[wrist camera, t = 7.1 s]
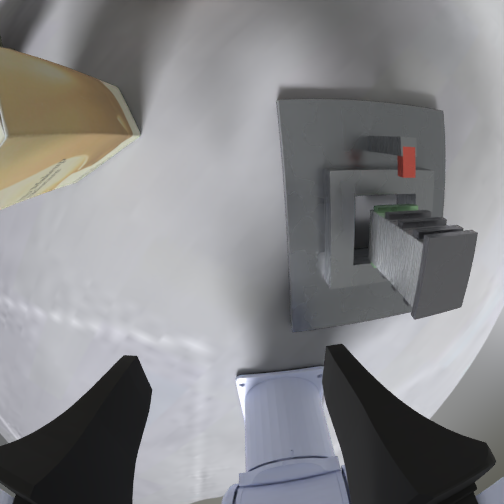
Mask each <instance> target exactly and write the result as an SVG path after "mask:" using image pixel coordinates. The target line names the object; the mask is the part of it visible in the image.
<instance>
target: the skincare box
mask: <svg viewBox="0 0 504 504" xmlns="http://www.w3.org/2000/svg"><path fill="white" fill-rule="evenodd" d="M140 136H141V134H140V132H139V130H138V127H137V125H136V123H135V121H134V119H133V117H132V114H131V112H130V110H129V108H128V106H127V104H126V102H125V100H124V98H123V96H122V94H121V92H120V90H119V88H118V87H116V86H113V85H111V84H109V83H106V82H104V81H101V80H99V79H97V78H94V77H91V76H89V75H86V74H83V73H81V72H78V71H76V70H73V69H70V68H68V67H65V66H62V65H59V64H56V63H53V62H50V61H47V60H44V59H41V58H38V57H35V56H31V55H28V54H25V53H21V52H18V51H15V50H11V49H7V48H3V47H0V210H2V209H4V208H6V207H9V206H11V205H14V204H16V203H19V202H21V201H24V200H27V199H29V198H32V197H35V196H38V195H40V194H43V193H46V192H49V191H52V190H55V189H58V188H61V187H64V186H67V185H70V184H73V183H77V182H78V181H80V180H81V179H82V178H84V177H85V176H87V175H88V174H89V173H91V172H92V171H93V170H95V169H96V168H98V167H99V166H100V165H102V164H103V163H104V162H106V161H107V160H109V159H110V158H111V157H113V156H114V155H115V154H117V153H118V152H119V151H121V150H122V149H123V148H125V147H126V146H128V145H129V144H130V143H132V142H133V141H135V140H136V139H137V138H139V137H140Z"/></svg>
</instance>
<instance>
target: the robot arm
mask: <svg viewBox="0 0 504 504" xmlns="http://www.w3.org/2000/svg"><path fill="white" fill-rule="evenodd" d="M319 374H320V375H319ZM241 383H244V384H241ZM236 385H237V390H238V394H239V399H240V403H241V408H242V412H243V417H244V421H245V454H246V472H245V473H240V474H239V484H234V485H232V486H230V488H229V489H228V491H227V492H226V493H225V495H224V497H223V500H222V504H504V477H502V478H501V479H499V480H498V481H497V482H495V483H494V484H493V485H492V486H490V487H489V488H487V489H486V490H484V491H483V492H481V493H480V494H478V495H477V496H475V495H474V491H475V490H476V489H477V487H476V484H475V481H476V480H478V479H479V478H480V477H481V476H483V475H484V474H485V473H486V472H488V471H489V470H490V469H491V468H492V467H493V466H494V465H495V462H496V460H495V458H494V456H493V454H492V452H491V450H490V448H489V447H488V445H487V444H486V443H485V442H482V441H478V440H475V439H472V438H469V437H466V436H463V435H460V434H458V433H455V432H453V431H451V430H448V429H446V428H444V427H442V426H440V425H438V424H436V423H435V422H433V421H431V420H429V419H427V418H426V417H424V416H422V415H421V414H419V413H418V412H416V411H414V410H413V409H412V408H410V407H409V406H407V405H406V404H405V403H403V402H402V401H401V400H399V399H398V398H397V397H396V396H394V395H393V394H392V393H391V392H390V391H388V390H387V389H386V388H385V387H384V386H383V385H382V384H381V383H380V382H378V381H377V380H376V379H375V378H374V377H373V376H372V375H371V374H370V373H369V372H368V371H367V370H366V369H365V368H364V367H363V366H362V365H361V364H360V363H359V362H358V360H357V359H356V358H355V357H354V356H353V355H352V354H351V353H350V352H349V351H348V350H347V348H346V347H345V346H344V345H343V344H338V345H331V346H326V353H325V361H324V367H323V366H318V367H311V368H304V369H297V370H289V371H281V372H271V373H261V374H250V375H239V376H237V377H236ZM323 391H324V396H325V400H326V405H327V408H328V411H329V414H330V417H331V420H332V423H333V426H334V429H335V432H336V435H337V438H338V441H339V444H340V447H341V451H342V454H343V458H344V463H345V465H342V466H341V468H340V464H339V460H338V457H337V456H335V453H334V449H333V445H332V441H331V437H330V433H329V429H328V425H327V421H326V418H325V414H324V410H323V406H322V397H323ZM151 395H152V388H151V386H150V384H149V382H148V380H147V377H146V375H145V373H144V371H143V368H142V366H141V364H140V361H139V359H138V357H137V356H127V355H124V356H123V357H122V358H121V359H120V360H119V361H117V363H116V364H115V365H114V366H113V367H112V368H111V369H110V370H109V371H108V372H107V373H106V374H105V375H104V376H103V377H102V378H101V379H100V380H99V381H98V382H97V383H96V384H95V385H94V386H93V387H92V388H91V389H90V390H89V391H88V392H87V393H86V394H84V395H83V396H82V397H81V398H80V399H79V400H78V401H77V402H76V403H75V404H74V405H72V406H71V407H70V408H69V409H68V410H66V411H65V412H64V413H62V414H61V415H60V416H58V417H57V418H56V419H54V420H53V421H51V422H50V423H48V424H47V425H45V426H43V427H42V428H40V429H39V430H37V431H35V432H33V433H31V434H29V435H27V436H25V437H23V438H21V439H19V440H16V441H14V442H11V443H8V444H6V445H3V446H0V483H1V484H3V485H4V486H5V487H7V488H8V489H9V490H11V491H12V492H14V493H15V494H16V496H15V498H13V497H12V496H10V495H9V494H7V493H6V492H4V491H3V490H1V489H0V504H132V495H133V480H134V471H135V463H136V458H137V453H138V450H139V446H140V442H141V439H142V435H143V432H144V428H145V424H146V421H147V417H148V413H149V409H150V402H151ZM341 469H342V472H341Z"/></svg>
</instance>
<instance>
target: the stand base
mask: <svg viewBox="0 0 504 504" xmlns="http://www.w3.org/2000/svg"><path fill="white" fill-rule="evenodd" d="M276 103H277V113H278V123H279V134H280V145H281V157H282V169H283V182H284V196H285V210H286V226H287V244H288V264H289V287H290V316H291V328H292V332H299V331H307V330H314V329H321V328H328V327H334V326H341V325H347V324H353V323H358V322H364V321H370V320H375V319H380V318H385V317H390V316H395V315H400V314H404V313H409V312H412V306H407V305H406V304H405V303H404V301H403V298H404V297H403V296H402V295H401V294H400V293H399V291H396V292H395V291H394V290H393V289H392V288H391V283H390V281H389V280H388V279H383V277H382V276H381V275H380V273H381V272H380V271H379V270H378V268H373V266H372V265H371V261H370V260H369V259H368V253H369V248H362V249H354V234H355V196H363V195H387V194H397V204H415V205H418V210H428V211H430V212H432V213H431V217H443V206H444V190H445V131H444V115H443V111H441V110H436V109H430V108H424V107H418V106H411V105H404V104H395V103H386V102H376V101H363V100H344V99H284V100H278V101H277V102H276Z"/></svg>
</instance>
